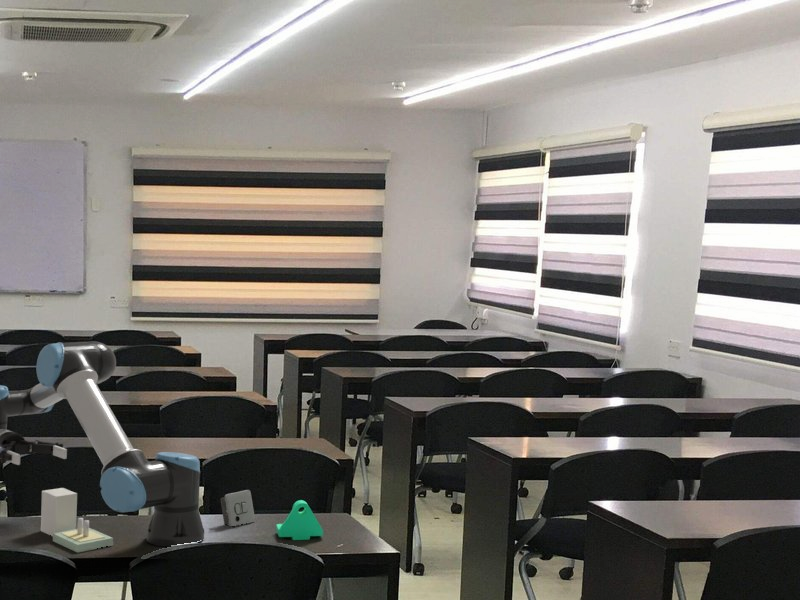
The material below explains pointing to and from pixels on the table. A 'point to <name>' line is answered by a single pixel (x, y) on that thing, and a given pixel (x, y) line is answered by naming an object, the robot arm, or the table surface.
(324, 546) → the table surface
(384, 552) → the table surface
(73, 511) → the block
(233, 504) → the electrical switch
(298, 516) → the camera mount
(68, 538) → the board
